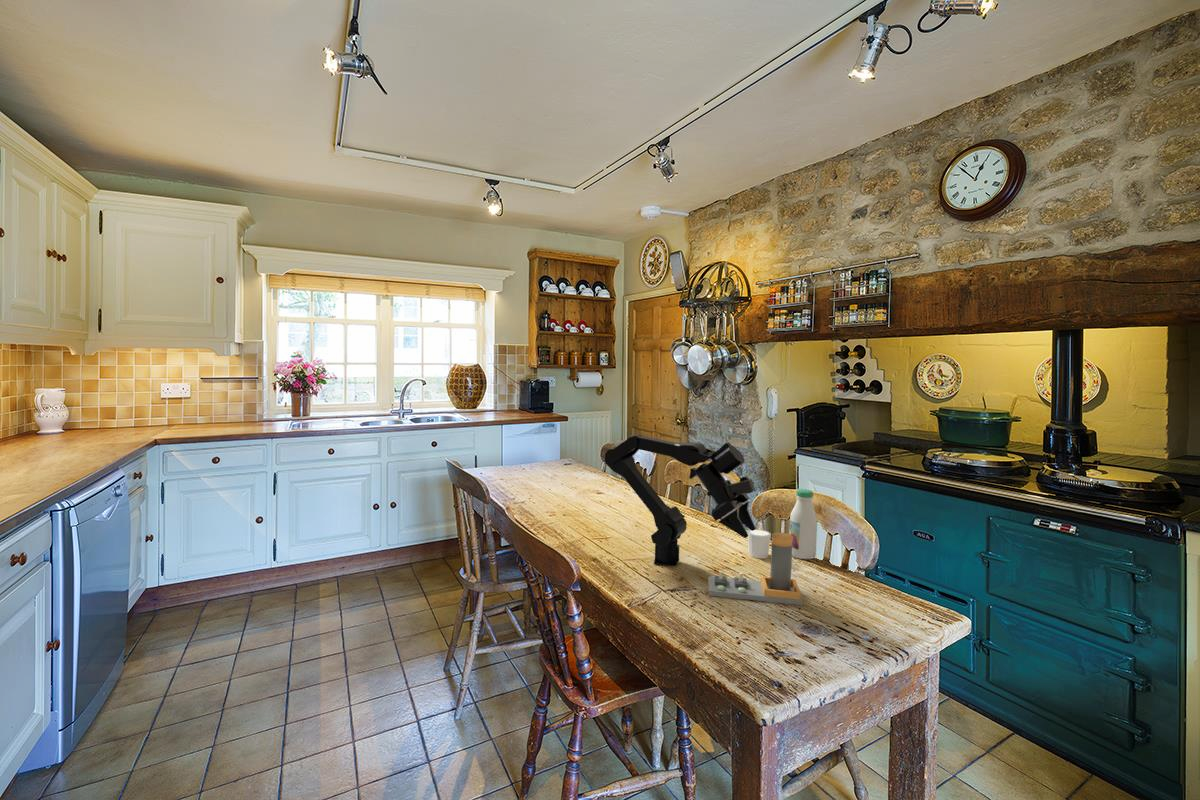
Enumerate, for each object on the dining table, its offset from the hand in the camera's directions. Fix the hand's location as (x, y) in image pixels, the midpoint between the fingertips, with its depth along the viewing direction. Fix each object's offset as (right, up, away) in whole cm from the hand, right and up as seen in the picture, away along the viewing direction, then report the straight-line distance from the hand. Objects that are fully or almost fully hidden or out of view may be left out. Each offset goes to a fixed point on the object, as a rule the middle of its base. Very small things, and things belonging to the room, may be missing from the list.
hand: (750, 533), depth 134 cm
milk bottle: (+22, -12, +21) cm, 33 cm away
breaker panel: (-1, -14, -5) cm, 14 cm away
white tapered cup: (+8, -12, +21) cm, 26 cm away
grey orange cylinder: (+6, -13, -6) cm, 15 cm away
